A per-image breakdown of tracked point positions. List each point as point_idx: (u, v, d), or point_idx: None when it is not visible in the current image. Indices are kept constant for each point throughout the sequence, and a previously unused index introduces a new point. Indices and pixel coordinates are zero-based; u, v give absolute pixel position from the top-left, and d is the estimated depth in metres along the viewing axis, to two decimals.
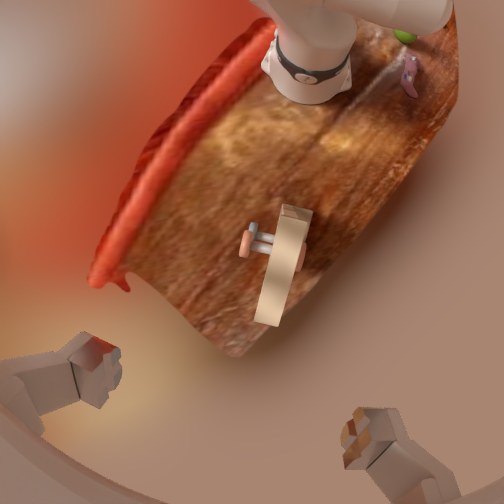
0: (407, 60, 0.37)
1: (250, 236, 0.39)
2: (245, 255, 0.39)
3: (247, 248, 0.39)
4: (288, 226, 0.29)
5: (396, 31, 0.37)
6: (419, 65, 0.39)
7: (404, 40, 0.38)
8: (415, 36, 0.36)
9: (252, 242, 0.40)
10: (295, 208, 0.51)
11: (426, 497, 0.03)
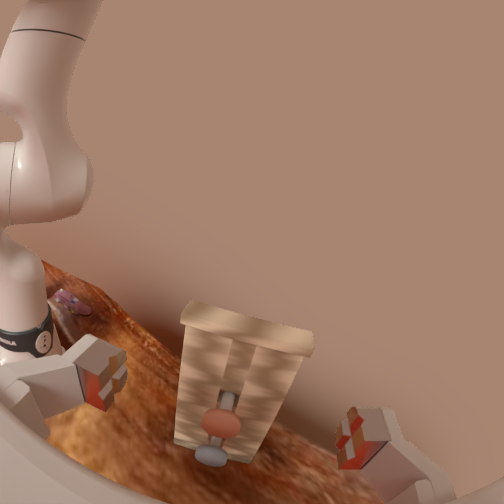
0: (61, 294, 0.51)
1: (209, 410, 0.24)
2: (236, 417, 0.24)
3: (226, 411, 0.24)
4: (194, 310, 0.26)
5: None
6: None
7: None
8: None
9: None
10: None
11: (420, 499, 0.03)
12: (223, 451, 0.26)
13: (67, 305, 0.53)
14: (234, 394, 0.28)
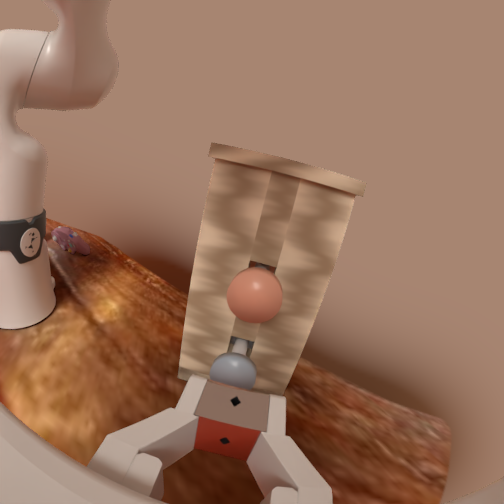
0: (59, 229, 0.47)
1: (239, 272, 0.20)
2: (278, 280, 0.20)
3: (263, 269, 0.20)
4: None
5: None
6: None
7: None
8: None
9: None
10: None
11: None
12: (251, 362, 0.22)
13: (64, 244, 0.49)
14: None
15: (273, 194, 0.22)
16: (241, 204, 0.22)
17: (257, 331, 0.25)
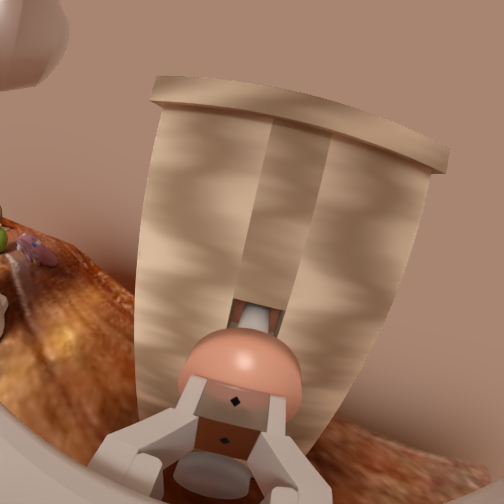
0: (22, 237, 0.36)
1: (205, 338, 0.08)
2: (292, 356, 0.08)
3: (258, 333, 0.08)
4: None
5: None
6: None
7: (1, 242, 0.36)
8: (4, 231, 0.38)
9: None
10: None
11: None
12: (241, 467, 0.10)
13: (29, 254, 0.38)
14: (267, 316, 0.13)
15: (277, 165, 0.10)
16: (212, 188, 0.11)
17: None
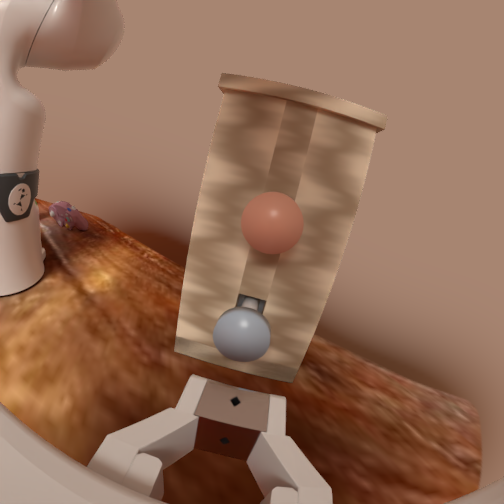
0: (56, 204, 0.44)
1: None
2: (297, 205, 0.18)
3: (281, 193, 0.18)
4: None
5: None
6: None
7: None
8: None
9: None
10: None
11: None
12: (265, 319, 0.19)
13: (61, 219, 0.47)
14: None
15: (288, 124, 0.18)
16: (253, 135, 0.19)
17: (270, 286, 0.22)
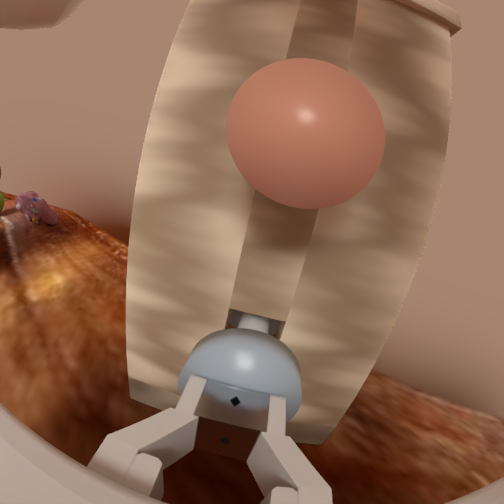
0: (22, 194, 0.34)
1: None
2: None
3: None
4: None
5: None
6: None
7: None
8: (2, 193, 0.35)
9: None
10: None
11: None
12: (290, 354, 0.08)
13: (28, 213, 0.36)
14: None
15: None
16: (253, 11, 0.08)
17: (293, 294, 0.11)
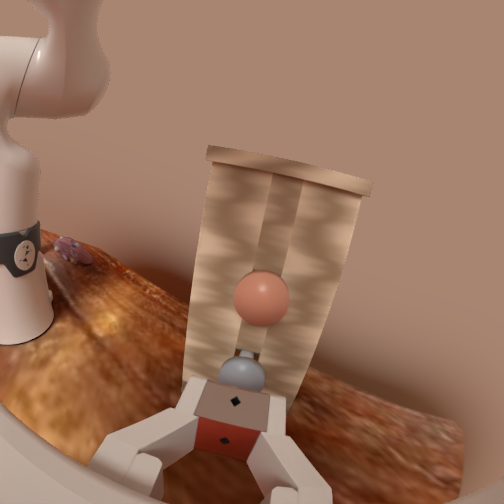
0: (61, 240, 0.47)
1: (245, 275, 0.20)
2: (284, 282, 0.20)
3: (269, 271, 0.20)
4: None
5: None
6: None
7: None
8: None
9: None
10: None
11: None
12: (259, 365, 0.22)
13: (66, 254, 0.50)
14: None
15: (275, 197, 0.21)
16: (242, 209, 0.21)
17: (263, 342, 0.24)
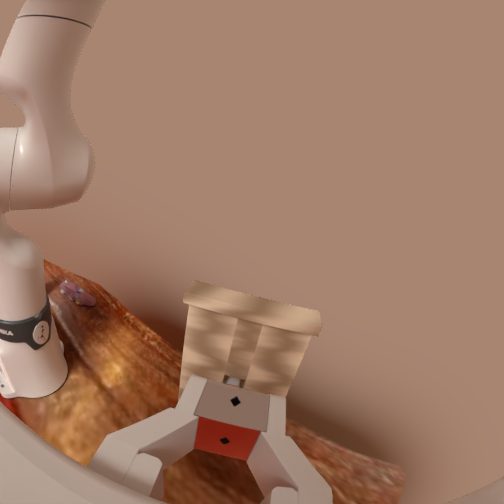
0: (66, 285, 0.53)
1: None
2: None
3: (234, 386, 0.25)
4: (197, 289, 0.25)
5: None
6: None
7: None
8: None
9: None
10: None
11: None
12: None
13: (72, 296, 0.55)
14: None
15: (240, 333, 0.25)
16: (214, 338, 0.26)
17: None
